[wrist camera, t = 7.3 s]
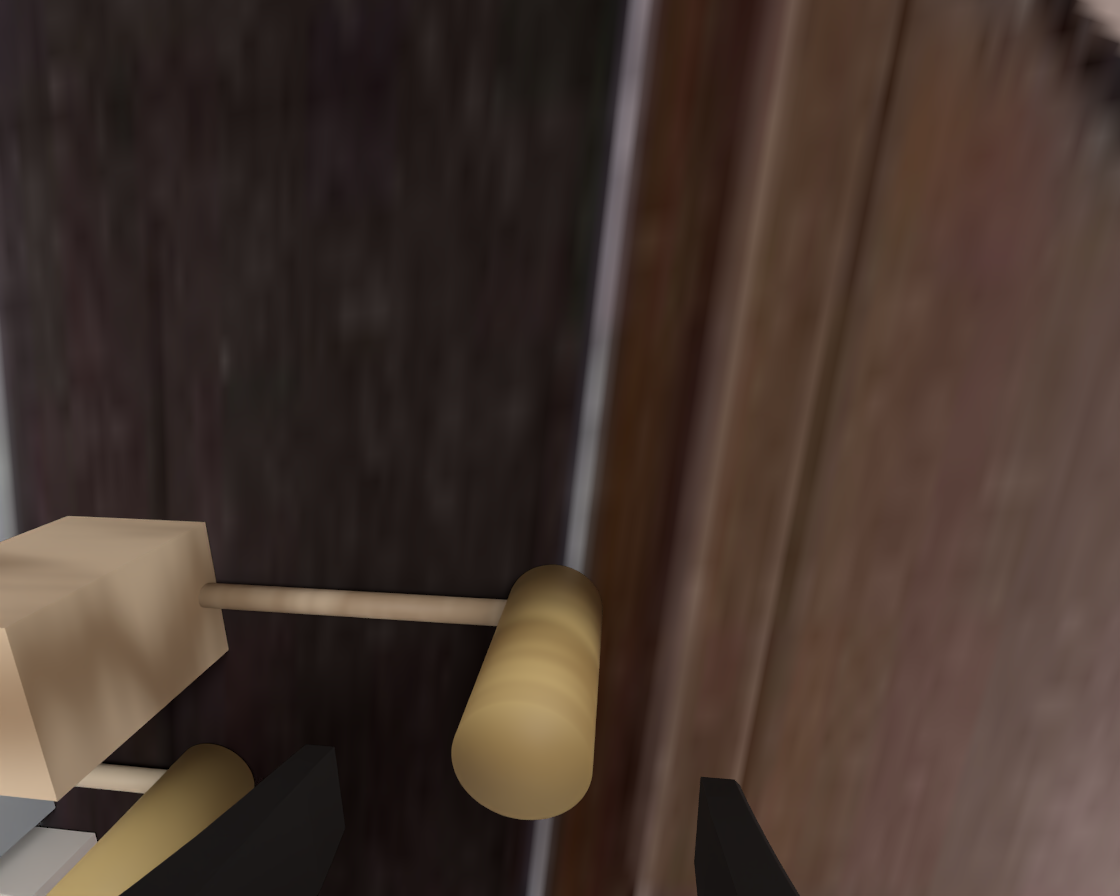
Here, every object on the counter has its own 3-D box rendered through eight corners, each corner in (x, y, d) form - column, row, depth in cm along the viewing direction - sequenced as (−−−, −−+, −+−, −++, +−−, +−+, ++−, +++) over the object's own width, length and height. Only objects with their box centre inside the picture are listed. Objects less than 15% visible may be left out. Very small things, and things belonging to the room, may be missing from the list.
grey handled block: (263, 829, 21) (128, 1029, 15) (-52, 796, 23) (-284, 965, 17) (244, 726, 20) (88, 901, 14) (-89, 698, 21) (-352, 845, 16)
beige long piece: (601, 676, 18) (591, 859, 12) (99, 640, 20) (-119, 782, 14) (604, 540, 16) (594, 670, 11) (67, 516, 18) (-188, 614, 13)
